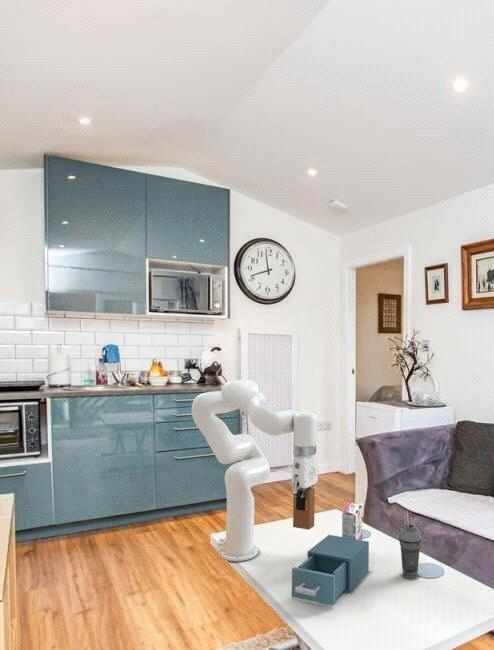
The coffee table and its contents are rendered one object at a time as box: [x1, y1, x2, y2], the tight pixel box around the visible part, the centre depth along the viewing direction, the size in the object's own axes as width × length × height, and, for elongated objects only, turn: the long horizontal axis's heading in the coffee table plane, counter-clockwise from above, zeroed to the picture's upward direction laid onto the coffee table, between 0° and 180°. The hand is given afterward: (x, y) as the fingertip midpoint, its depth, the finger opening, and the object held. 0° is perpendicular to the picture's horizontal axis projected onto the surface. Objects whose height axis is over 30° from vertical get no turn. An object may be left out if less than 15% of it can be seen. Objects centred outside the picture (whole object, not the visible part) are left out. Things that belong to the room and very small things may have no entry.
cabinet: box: [307, 534, 370, 594], centre depth 155 cm, size 15×15×10 cm
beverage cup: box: [398, 510, 422, 580], centre depth 157 cm, size 7×7×20 cm
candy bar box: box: [341, 502, 363, 540], centre depth 171 cm, size 11×5×16 cm, turn 168°
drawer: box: [291, 555, 348, 607], centre depth 143 cm, size 18×13×8 cm
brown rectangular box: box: [292, 487, 316, 531], centre depth 160 cm, size 4×6×12 cm, turn 68°
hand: (303, 507), depth 160 cm, fingers closed on brown rectangular box, 3 cm apart
